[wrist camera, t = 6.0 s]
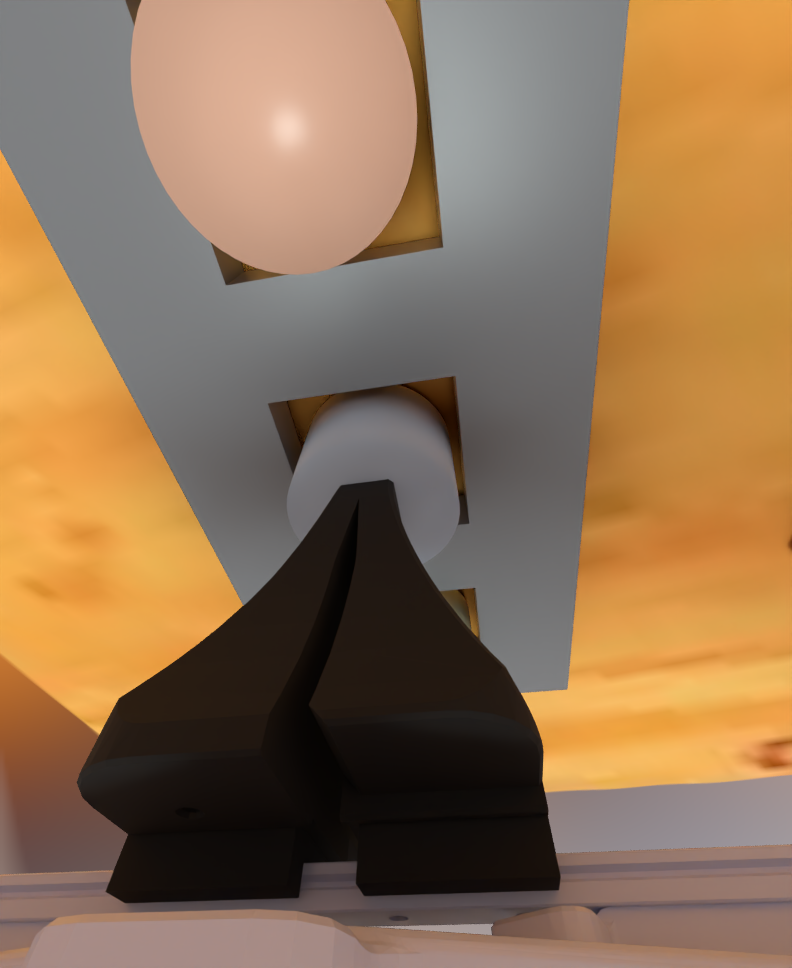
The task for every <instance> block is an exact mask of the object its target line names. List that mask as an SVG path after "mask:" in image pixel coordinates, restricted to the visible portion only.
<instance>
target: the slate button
mask: <svg viewBox="0 0 792 968" xmlns="http://www.w3.org/2000/svg"><path fill="white" fill-rule="evenodd" d="M386 479H389V480H391V481H392V482H394V486H395V491H396V496H397V501H398V506H399V511H400V516H401V521H402V524H403V526H404V529H405V531H406V534H407V536H408V538H409V540H410V542H411V544H412V546H413V548H414V550H415V552H416V554H417V556H418V557H419V559H420V561H421V563H422V564H423V563H425V562H427V561H428V560H430V559H432V558H433V557H434V556H436V555H437V554H438V553H439V552H441V551H442V549H443V548H444V547H445V546H446V545H447V544H448V543H449V541H450V540H451V538H452V537H453V535H454V533H455V531H456V528H457V525H458V522H459V515H460V503H459V497H458V490H457V484H456V477H455V471H454V464H453V458H452V451H451V445H450V438H449V433H448V429H447V427H446V424H445V422H444V420H443V418H442V416H441V415H440V413H439V412H438V410H437V409H436V408H435V407H434V406H433V405H432V404H431V403H430V402H429V401H428V400H427V399H425V398H424V397H423V396H421V395H420V394H418V393H416V392H415V391H413V390H410V389H408V388H406V387H403V386H399V385H390V386H383V387H377V388H370V389H363V390H356V391H349V392H342V393H336V394H335V395H333V396H332V397H330V398H329V399H328V400H327V401H326V402H325V403H324V404H323V405H322V406H321V407H320V408H319V410H318V411H317V413H316V414H315V416H314V418H313V420H312V423H311V425H310V428H309V431H308V434H307V437H306V440H305V443H304V446H303V449H302V452H301V454H300V457H299V460H298V463H297V466H296V469H295V472H294V475H293V478H292V481H291V484H290V487H289V491H288V495H287V513H288V518H289V521H290V524H291V526H292V529H293V531H294V533H295V534H296V536H297V537H298V539H299V540H300V541H301V542H302V540H303V539H304V537H305V536H306V535H307V533H308V532H309V531H310V529H311V528H312V526H313V525H314V524H315V522H316V521H317V519H318V518H319V516H320V515H321V513H322V512H323V510H324V509H325V507H326V506H327V504H328V503H329V501H330V500H331V498H332V497H333V495H334V494H335V492H336V491H337V489H338V488H339V487H340V486H341V485H347V484H355V483H363V482H371V481H378V480H386Z"/></svg>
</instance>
